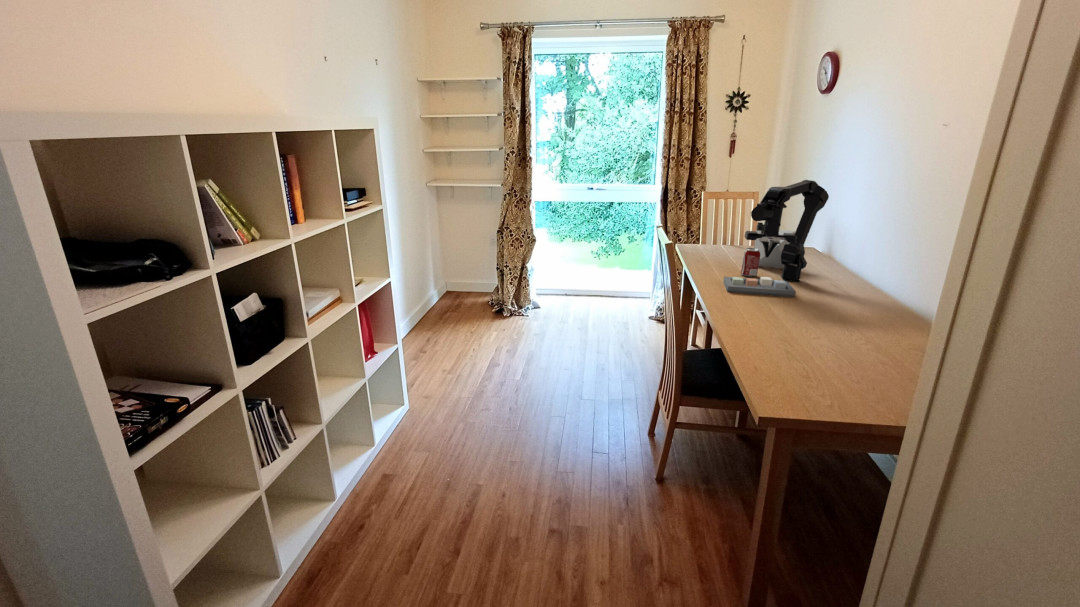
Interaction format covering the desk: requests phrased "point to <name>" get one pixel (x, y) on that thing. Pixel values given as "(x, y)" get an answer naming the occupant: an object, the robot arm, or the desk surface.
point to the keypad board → (758, 288)
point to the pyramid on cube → (775, 255)
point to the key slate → (779, 284)
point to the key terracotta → (751, 282)
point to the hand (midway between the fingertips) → (766, 257)
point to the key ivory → (766, 281)
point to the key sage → (737, 281)
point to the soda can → (750, 262)
